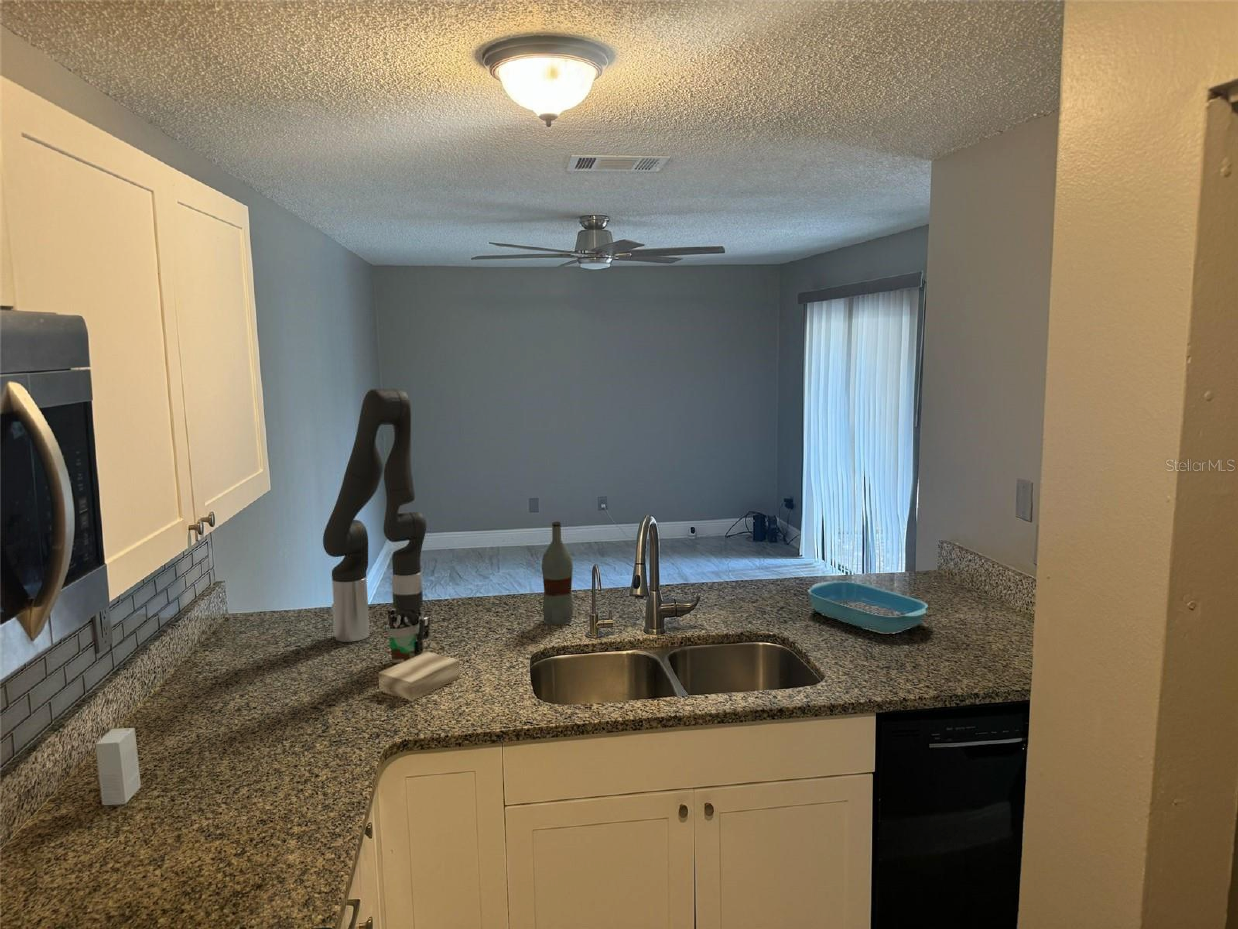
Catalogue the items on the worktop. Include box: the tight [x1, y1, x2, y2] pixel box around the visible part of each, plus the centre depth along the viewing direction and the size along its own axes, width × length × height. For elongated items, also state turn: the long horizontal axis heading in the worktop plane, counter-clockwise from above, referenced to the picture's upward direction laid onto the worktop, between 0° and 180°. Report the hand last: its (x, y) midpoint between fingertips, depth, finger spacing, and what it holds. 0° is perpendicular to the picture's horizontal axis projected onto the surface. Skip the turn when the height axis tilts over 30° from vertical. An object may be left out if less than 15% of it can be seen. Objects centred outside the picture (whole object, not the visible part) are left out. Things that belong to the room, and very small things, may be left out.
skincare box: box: [95, 727, 142, 806], centre depth 153 cm, size 6×4×12 cm
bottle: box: [541, 521, 574, 626], centre depth 247 cm, size 9×9×30 cm
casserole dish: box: [807, 580, 929, 632], centre depth 249 cm, size 37×22×7 cm, turn 37°
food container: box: [387, 624, 420, 666], centre depth 217 cm, size 12×6×10 cm, turn 166°
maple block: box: [377, 651, 461, 702], centre depth 203 cm, size 11×16×5 cm
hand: (409, 651), depth 218 cm, fingers closed on food container, 6 cm apart
